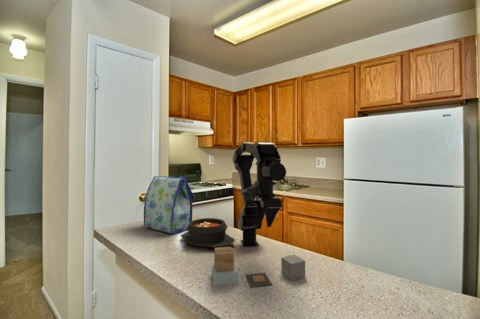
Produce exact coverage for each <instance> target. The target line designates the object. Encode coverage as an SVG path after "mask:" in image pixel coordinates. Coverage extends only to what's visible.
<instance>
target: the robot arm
mask: <svg viewBox="0 0 480 319" xmlns="http://www.w3.org/2000/svg"><path fill="white" fill-rule="evenodd" d="M254 160H256V163H255V166H256V180H254V184H253V185H252V177H251V176H252V175H251V169H252V166H253V162H254ZM281 161H282V159H281V155H280V153H279V151H278V148H277V146H276V144H275V143H274V142H255V143H254V142H251V141H250V142H248V141H243V142H241V144H240V146H239V147H237V149H236V150H234V152H233V156H232V163H233V165H234V169H235V170H236V171H237V172H238V175H239V179H240V181H239V182H240V188H241V189H240V191H239V192H240V194H241V198H242V202H243V203H242V205H243V207H242V208H241V211H240V216H239V219H238V221H237V228H238V229H239V230H240V231H242V239H240V243H241V244H242V246H243V247H252V246H259V245H260V243H259V242H258V240H257V230H261V229H262V225H263V221H264V218H265V222H266V226H267V228H271V226H272V224H273V223H274V220H275V218H276V216H277V214H278V213H279V211H280V210H281V208H282V207H283V201H282V199H281V198H279V197H277V196H276V194H275V193H274V186H275V185H276V182H281V181H282V180H284V179H285V177H286V175H287V169H286V167H285V165H284V164H283V163H281Z"/></svg>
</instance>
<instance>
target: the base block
mask: <svg viewBox="0 0 480 319" xmlns="http://www.w3.org/2000/svg"><path fill="white" fill-rule="evenodd" d="M239 273H240V271H239V269H238V267H237V264H236V261H234V270H233V271H222V272H216V268H215V262H213V263H211V276H212V283H213V286H224V285H225V286H227V285H234V284H235V285H236V284H239V283H240V282H239V280H240V278H239Z"/></svg>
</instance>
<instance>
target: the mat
mask: <svg viewBox="0 0 480 319" xmlns="http://www.w3.org/2000/svg"><path fill="white" fill-rule="evenodd" d="M245 276H246V279H247V281H248V283H249V286H250V288H258V287H259V288H260V287H269V286H270V287H271V286H273V283H272V281H271V280H270V279H269V277H268V275H267V273H266V272H258V273H246V274H245Z"/></svg>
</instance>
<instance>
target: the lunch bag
mask: <svg viewBox="0 0 480 319" xmlns="http://www.w3.org/2000/svg"><path fill="white" fill-rule="evenodd" d="M189 184H190V183H189V181H188V179H187V178H186V177H182V176H162V175H154V176H153V178H152V180H151V182H150V184H149V185H148V188H147V191H146V193H145V199H144V206H143V227H145V228H148V229H152V230H156V231H160V232H163V233H167V234H171V235H174V234H177V233H180V232H181V231H188V230H187V227H188V226H189V223H190V222H191V221H193V201H195V199H196V197H195V195H194V193H193V192H192V190H191V187H190V185H189Z"/></svg>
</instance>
